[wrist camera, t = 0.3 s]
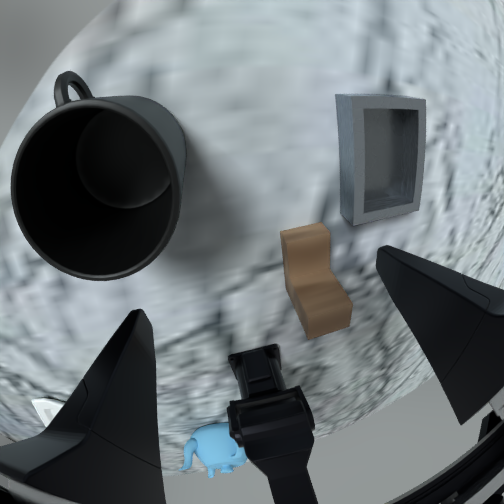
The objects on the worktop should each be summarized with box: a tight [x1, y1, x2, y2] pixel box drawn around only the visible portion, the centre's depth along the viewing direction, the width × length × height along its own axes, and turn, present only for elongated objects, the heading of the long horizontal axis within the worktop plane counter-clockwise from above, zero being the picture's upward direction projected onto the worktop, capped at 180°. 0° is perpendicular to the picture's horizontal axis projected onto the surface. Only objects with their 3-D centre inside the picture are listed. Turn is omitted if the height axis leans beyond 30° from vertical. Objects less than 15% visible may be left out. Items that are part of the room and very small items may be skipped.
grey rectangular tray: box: [335, 94, 426, 226], centre depth 21 cm, size 11×8×2 cm
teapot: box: [178, 423, 247, 478], centre depth 44 cm, size 15×15×10 cm
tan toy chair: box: [280, 222, 353, 340], centre depth 24 cm, size 7×4×7 cm, turn 9°
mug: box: [11, 71, 186, 281], centre depth 14 cm, size 9×12×9 cm
